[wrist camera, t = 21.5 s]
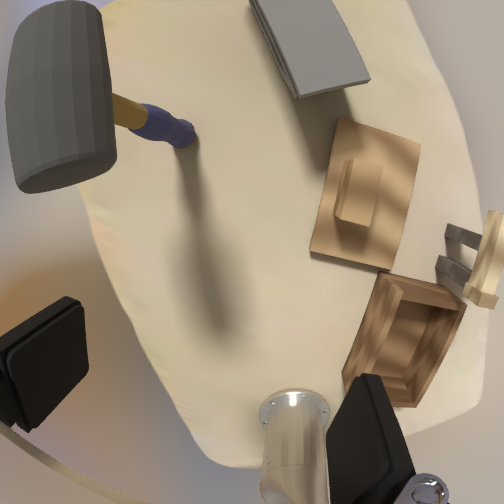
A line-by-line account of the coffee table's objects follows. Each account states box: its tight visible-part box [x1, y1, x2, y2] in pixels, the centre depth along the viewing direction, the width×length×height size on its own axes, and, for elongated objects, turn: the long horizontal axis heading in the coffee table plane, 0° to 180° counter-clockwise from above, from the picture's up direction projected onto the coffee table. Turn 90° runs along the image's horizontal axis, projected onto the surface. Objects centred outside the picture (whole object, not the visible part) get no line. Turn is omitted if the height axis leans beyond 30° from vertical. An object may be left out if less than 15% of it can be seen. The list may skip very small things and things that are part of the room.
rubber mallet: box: [5, 0, 195, 194], centre depth 25 cm, size 12×8×30 cm, turn 12°
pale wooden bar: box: [462, 210, 504, 310], centre depth 27 cm, size 11×3×4 cm, turn 169°
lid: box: [309, 118, 421, 270], centre depth 35 cm, size 18×12×8 cm, turn 168°
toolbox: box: [342, 224, 482, 408], centre depth 37 cm, size 28×12×10 cm, turn 169°
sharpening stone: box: [249, 0, 371, 99], centre depth 29 cm, size 25×8×11 cm, turn 19°
